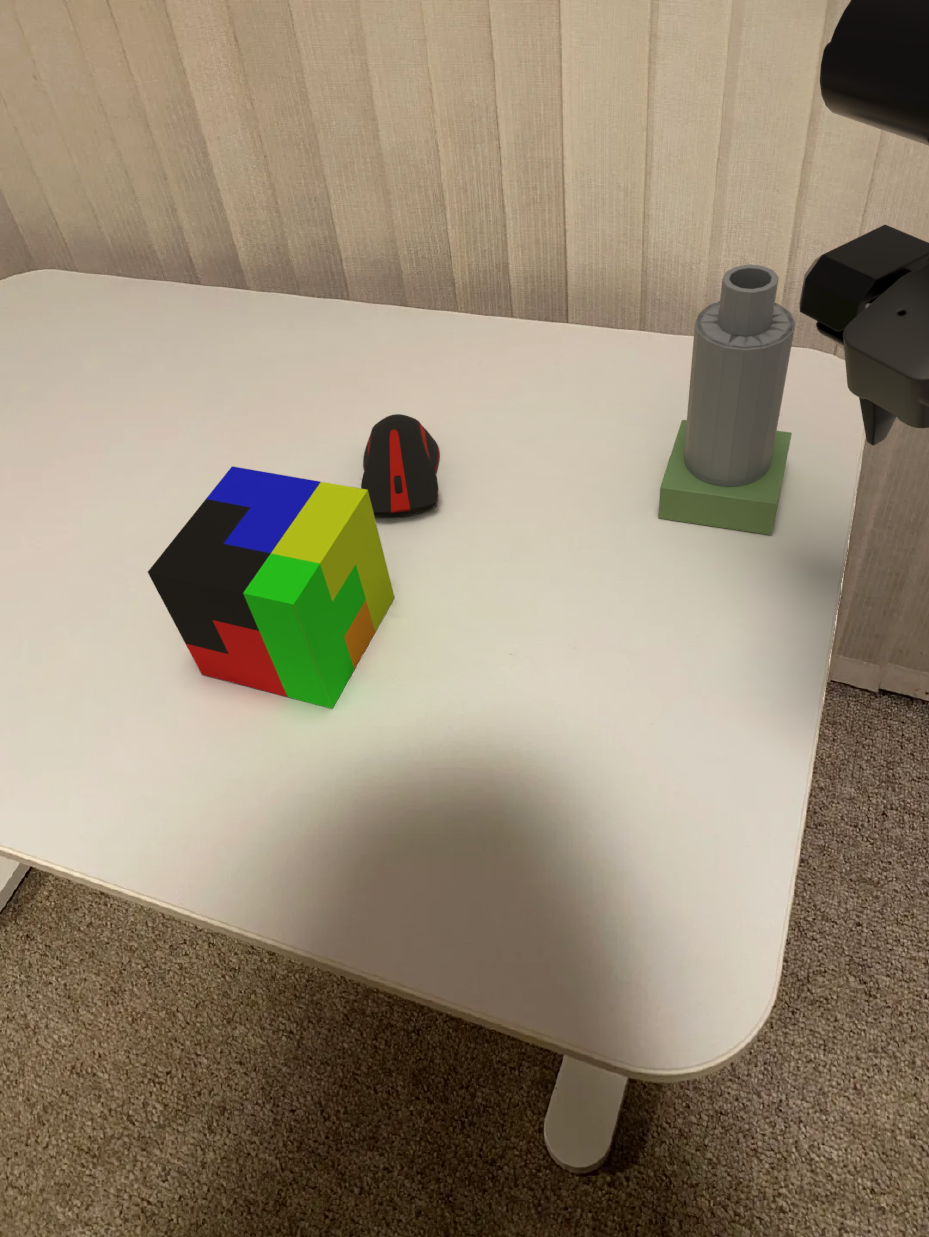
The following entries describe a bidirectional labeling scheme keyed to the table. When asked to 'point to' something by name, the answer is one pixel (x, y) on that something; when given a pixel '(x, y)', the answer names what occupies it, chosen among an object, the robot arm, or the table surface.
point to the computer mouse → (400, 467)
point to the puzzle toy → (277, 583)
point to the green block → (722, 493)
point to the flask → (737, 379)
